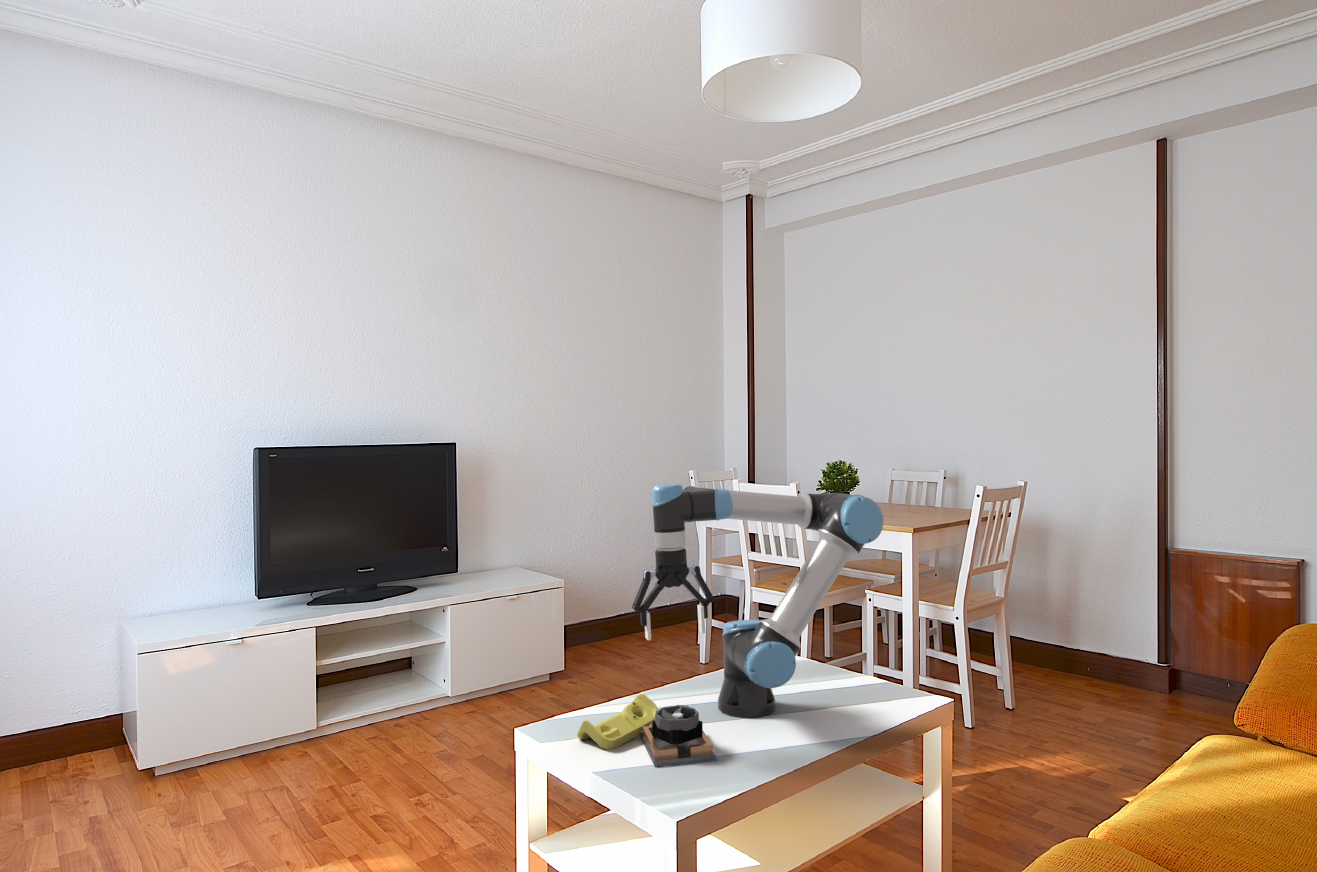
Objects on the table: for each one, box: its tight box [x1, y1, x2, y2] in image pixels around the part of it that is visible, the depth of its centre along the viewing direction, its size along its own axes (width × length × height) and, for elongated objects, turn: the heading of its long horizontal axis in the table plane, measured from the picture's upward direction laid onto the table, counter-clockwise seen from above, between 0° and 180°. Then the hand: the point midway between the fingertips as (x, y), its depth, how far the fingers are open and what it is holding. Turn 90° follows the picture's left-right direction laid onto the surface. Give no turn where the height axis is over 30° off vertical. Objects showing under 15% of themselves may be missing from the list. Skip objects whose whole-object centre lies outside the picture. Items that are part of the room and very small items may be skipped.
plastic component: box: [577, 693, 659, 750], centre depth 195 cm, size 20×7×10 cm
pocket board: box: [639, 725, 717, 768], centre depth 186 cm, size 14×18×3 cm
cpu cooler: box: [651, 704, 704, 745], centre depth 185 cm, size 10×6×10 cm
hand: (675, 635), depth 193 cm, fingers open, 13 cm apart
